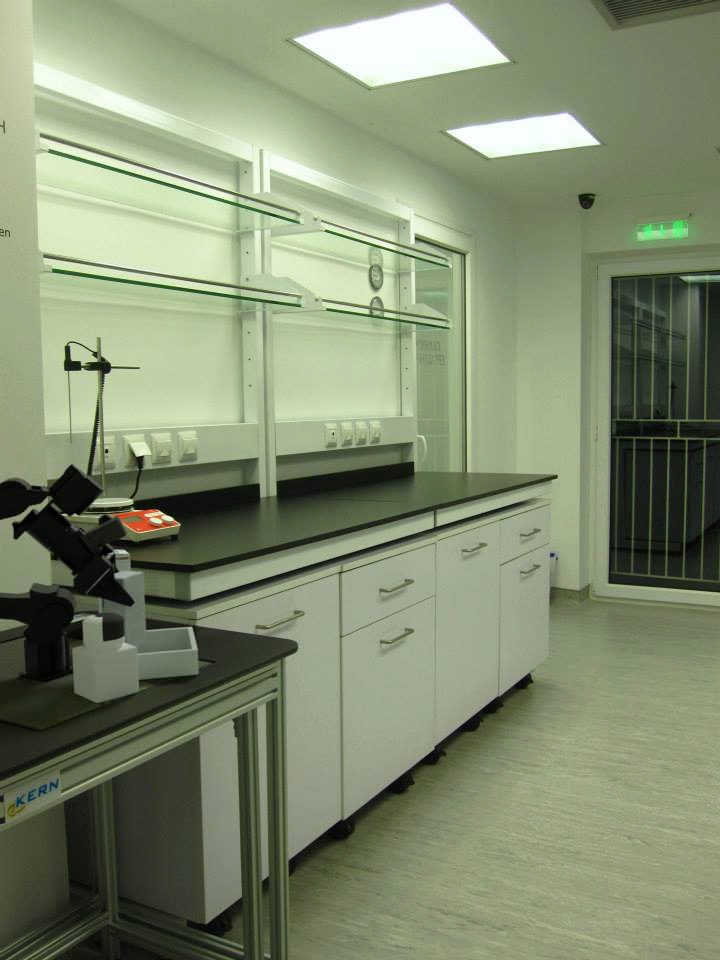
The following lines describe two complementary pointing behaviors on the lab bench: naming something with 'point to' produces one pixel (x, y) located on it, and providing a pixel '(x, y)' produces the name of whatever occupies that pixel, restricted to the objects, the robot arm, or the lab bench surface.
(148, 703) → the lab bench surface
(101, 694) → the medicine bottle
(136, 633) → the skincare box
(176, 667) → the open box
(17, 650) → the lab bench surface
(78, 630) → the lab bench surface
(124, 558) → the syrup box
